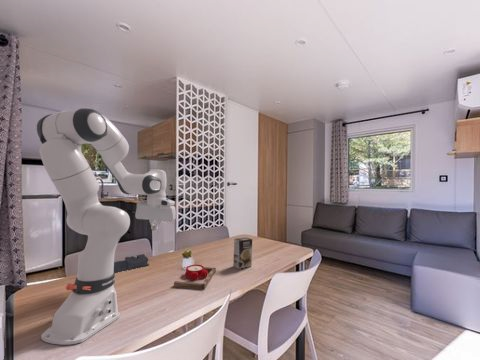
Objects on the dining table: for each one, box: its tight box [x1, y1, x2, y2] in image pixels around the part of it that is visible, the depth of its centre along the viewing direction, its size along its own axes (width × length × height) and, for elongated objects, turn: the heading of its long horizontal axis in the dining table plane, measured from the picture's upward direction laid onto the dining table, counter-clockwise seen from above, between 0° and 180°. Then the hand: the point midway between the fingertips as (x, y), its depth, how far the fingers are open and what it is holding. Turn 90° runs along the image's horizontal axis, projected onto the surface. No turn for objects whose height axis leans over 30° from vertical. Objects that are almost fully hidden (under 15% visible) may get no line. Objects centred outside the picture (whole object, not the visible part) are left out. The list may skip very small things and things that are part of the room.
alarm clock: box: [183, 264, 209, 281], centre depth 121 cm, size 10×6×15 cm
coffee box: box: [232, 236, 253, 270], centre depth 137 cm, size 9×6×16 cm
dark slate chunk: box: [114, 253, 150, 274], centre depth 133 cm, size 15×22×5 cm
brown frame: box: [173, 266, 217, 290], centre depth 118 cm, size 22×14×2 cm, turn 173°
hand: (154, 229), depth 117 cm, fingers closed
